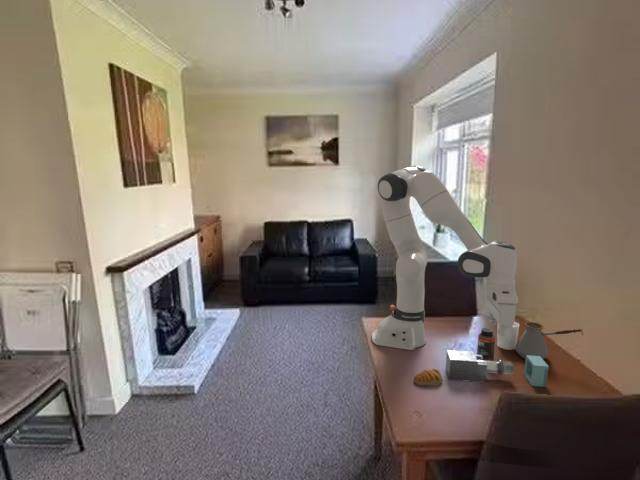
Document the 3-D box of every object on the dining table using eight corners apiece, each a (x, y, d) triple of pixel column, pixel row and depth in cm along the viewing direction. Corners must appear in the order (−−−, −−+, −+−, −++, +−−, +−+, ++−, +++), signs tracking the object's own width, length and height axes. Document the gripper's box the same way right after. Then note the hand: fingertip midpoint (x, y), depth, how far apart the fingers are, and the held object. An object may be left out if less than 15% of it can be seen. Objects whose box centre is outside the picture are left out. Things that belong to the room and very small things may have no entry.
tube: (454, 374, 136) (455, 360, 135) (452, 367, 141) (453, 353, 140) (513, 379, 134) (514, 364, 133) (508, 371, 139) (509, 357, 138)
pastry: (420, 389, 130) (421, 379, 130) (409, 379, 136) (409, 369, 136) (444, 384, 133) (445, 373, 133) (432, 374, 140) (432, 364, 139)
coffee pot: (511, 357, 151) (515, 320, 149) (517, 346, 160) (521, 312, 158) (577, 375, 139) (582, 335, 136) (579, 362, 148) (585, 324, 145)
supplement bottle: (492, 355, 153) (495, 327, 151) (494, 362, 148) (496, 333, 146) (476, 352, 155) (478, 325, 153) (477, 359, 150) (479, 331, 148)
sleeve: (449, 379, 136) (450, 359, 134) (445, 369, 143) (446, 350, 142) (485, 382, 134) (487, 362, 133) (480, 371, 141) (481, 352, 140)
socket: (531, 385, 132) (534, 365, 131) (524, 374, 139) (526, 355, 138) (546, 386, 132) (548, 366, 130) (537, 375, 139) (539, 356, 137)
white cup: (512, 342, 164) (514, 319, 162) (520, 351, 157) (522, 327, 155) (493, 341, 165) (495, 319, 163) (499, 350, 157) (501, 326, 155)
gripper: (481, 281, 142) (479, 317, 145) (498, 299, 122) (495, 341, 125) (500, 281, 141) (497, 318, 144) (520, 300, 121) (516, 342, 124)
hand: (496, 329), depth 134 cm, fingers open, 8 cm apart
